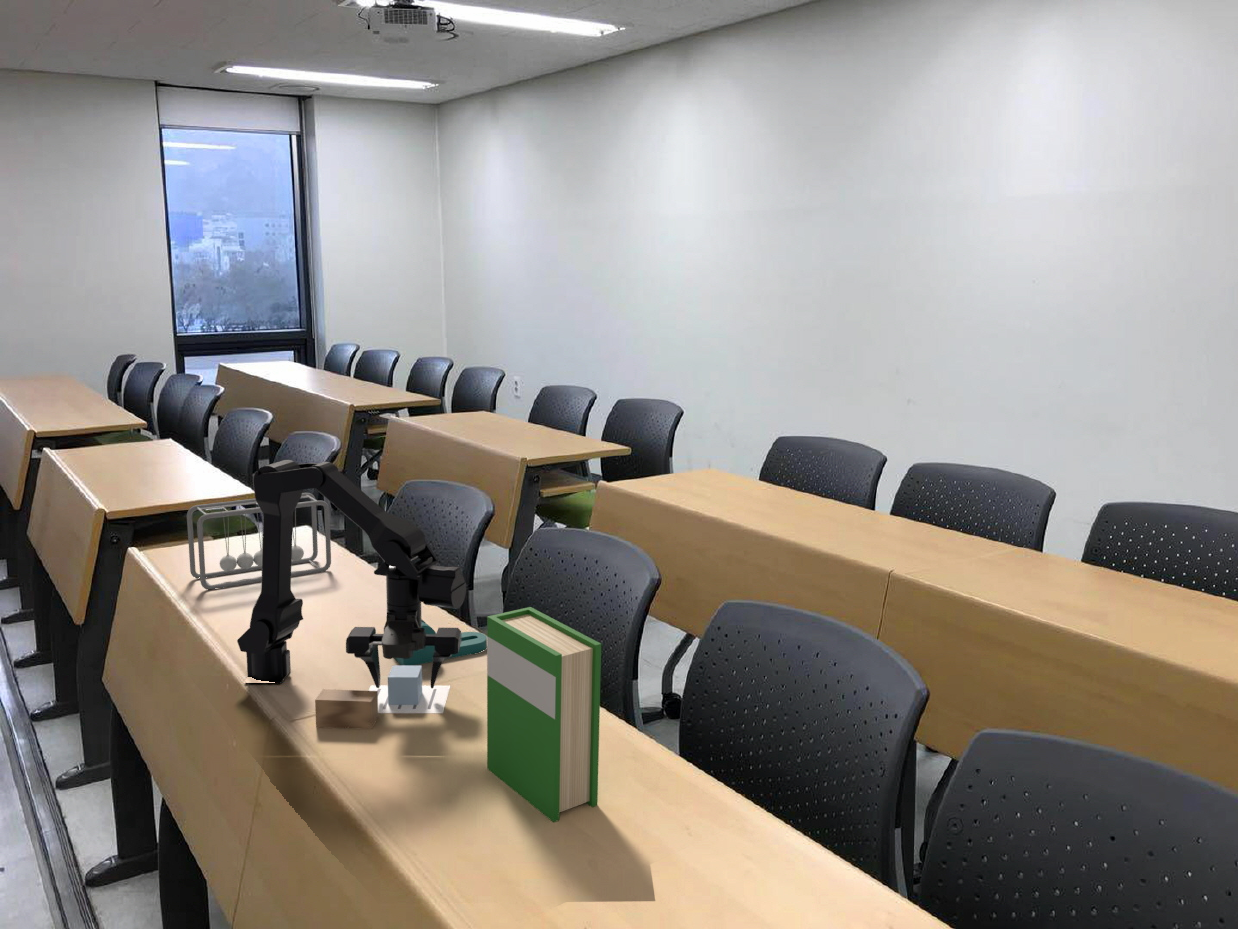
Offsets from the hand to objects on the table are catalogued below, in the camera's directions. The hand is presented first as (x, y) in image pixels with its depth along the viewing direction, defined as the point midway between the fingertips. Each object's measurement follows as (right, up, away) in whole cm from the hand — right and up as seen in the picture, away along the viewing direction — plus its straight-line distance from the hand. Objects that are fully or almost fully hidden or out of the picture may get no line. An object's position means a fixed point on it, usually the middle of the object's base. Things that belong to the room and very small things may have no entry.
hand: (405, 687), depth 169 cm
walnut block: (-8, -4, -9) cm, 12 cm away
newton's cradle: (-48, +12, +65) cm, 82 cm away
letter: (0, -2, 0) cm, 2 cm away
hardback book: (+25, -9, -27) cm, 38 cm away
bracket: (+3, +1, +21) cm, 21 cm away
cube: (0, -2, 0) cm, 2 cm away
